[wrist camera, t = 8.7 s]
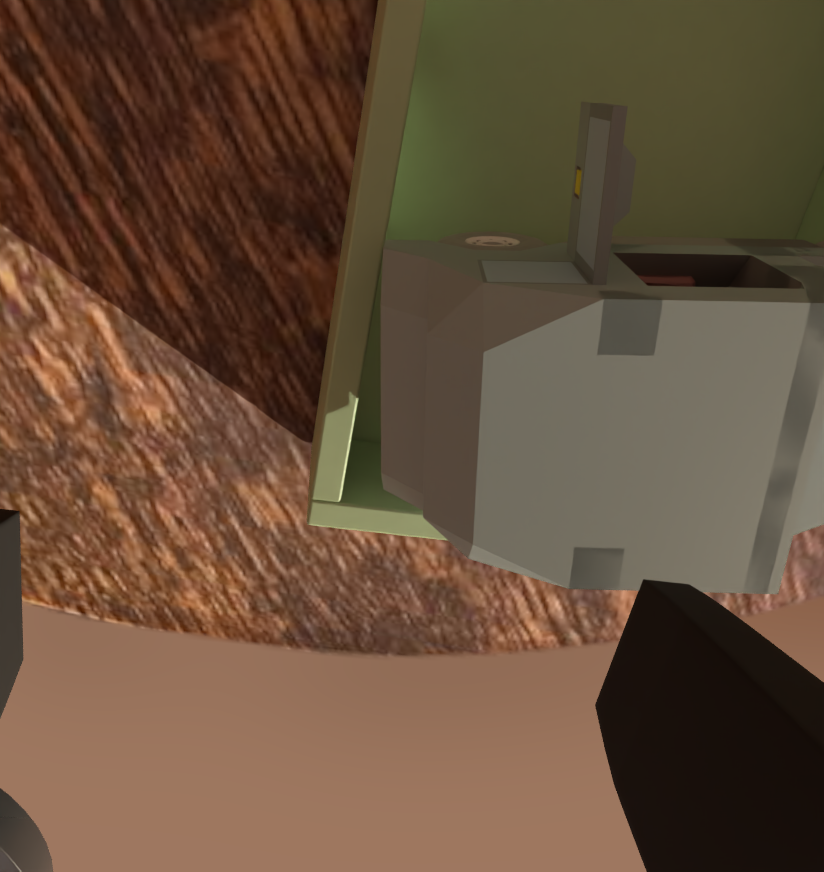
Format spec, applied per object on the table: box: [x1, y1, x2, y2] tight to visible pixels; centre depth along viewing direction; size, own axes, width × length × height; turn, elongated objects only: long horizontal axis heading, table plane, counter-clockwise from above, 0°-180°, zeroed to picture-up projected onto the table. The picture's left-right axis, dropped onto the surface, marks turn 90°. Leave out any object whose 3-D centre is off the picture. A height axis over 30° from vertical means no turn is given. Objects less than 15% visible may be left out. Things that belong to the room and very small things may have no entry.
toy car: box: [381, 102, 824, 594], centre depth 12 cm, size 6×10×5 cm, turn 89°
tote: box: [307, 0, 824, 540], centre depth 15 cm, size 14×10×3 cm
